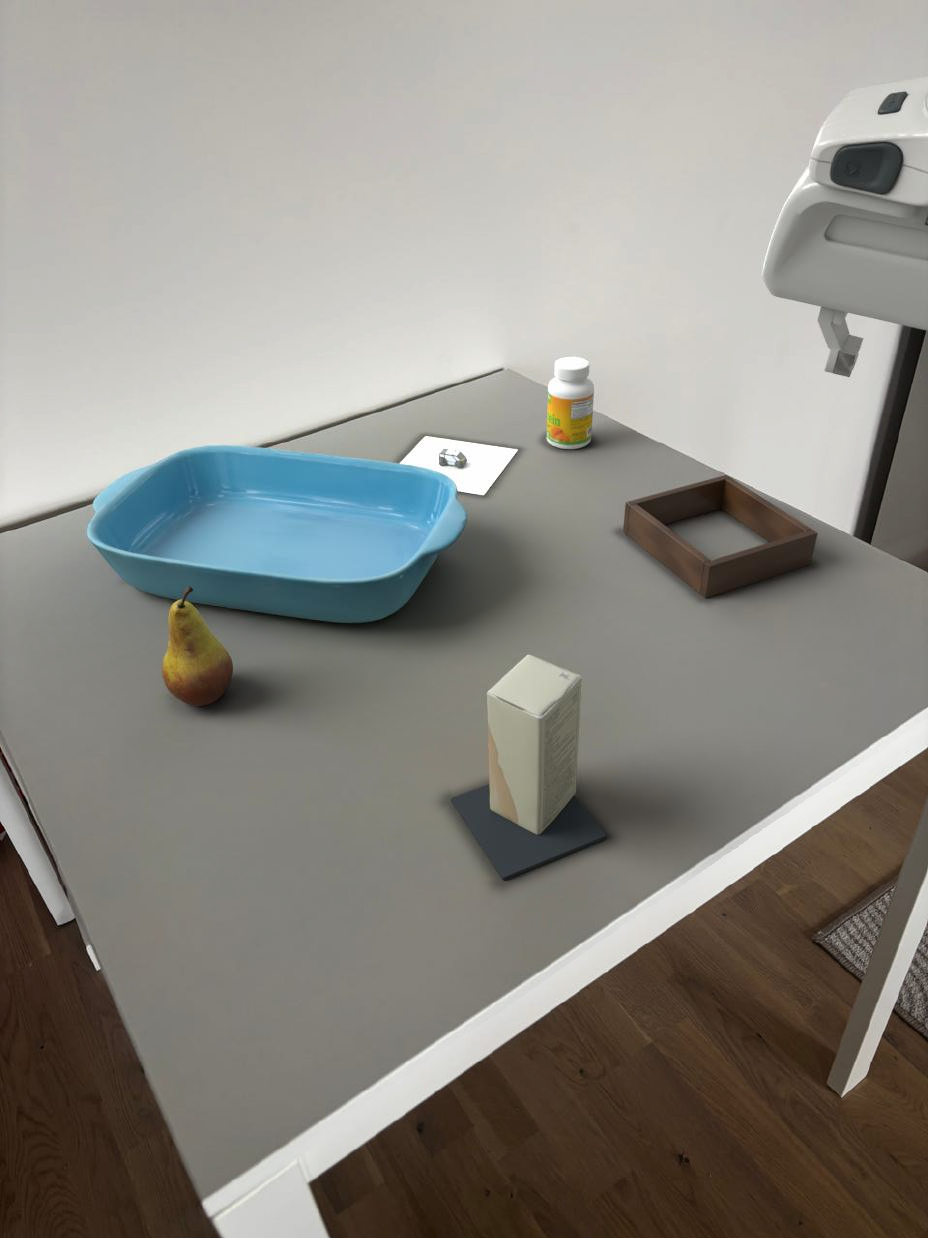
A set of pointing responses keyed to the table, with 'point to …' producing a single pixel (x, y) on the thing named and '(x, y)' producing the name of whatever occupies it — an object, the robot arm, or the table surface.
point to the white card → (461, 462)
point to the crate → (713, 577)
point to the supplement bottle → (570, 404)
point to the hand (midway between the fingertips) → (922, 389)
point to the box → (533, 742)
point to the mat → (525, 833)
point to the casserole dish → (278, 530)
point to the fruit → (194, 657)
